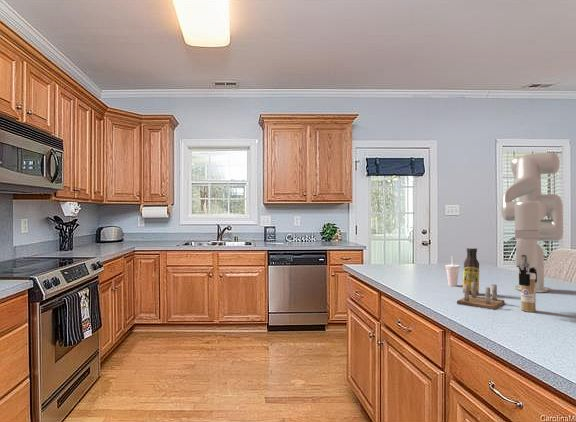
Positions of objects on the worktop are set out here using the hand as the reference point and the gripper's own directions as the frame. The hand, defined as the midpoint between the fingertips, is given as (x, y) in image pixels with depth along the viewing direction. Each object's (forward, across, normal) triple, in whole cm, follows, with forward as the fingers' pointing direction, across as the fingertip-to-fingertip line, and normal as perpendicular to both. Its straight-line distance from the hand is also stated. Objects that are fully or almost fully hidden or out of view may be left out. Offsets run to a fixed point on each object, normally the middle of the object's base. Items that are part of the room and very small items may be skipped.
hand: (528, 283), depth 135 cm
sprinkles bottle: (+10, -1, 0) cm, 10 cm away
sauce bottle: (+9, -17, -25) cm, 32 cm away
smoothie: (+9, -30, -38) cm, 49 cm away
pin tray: (+10, -1, -16) cm, 19 cm away
